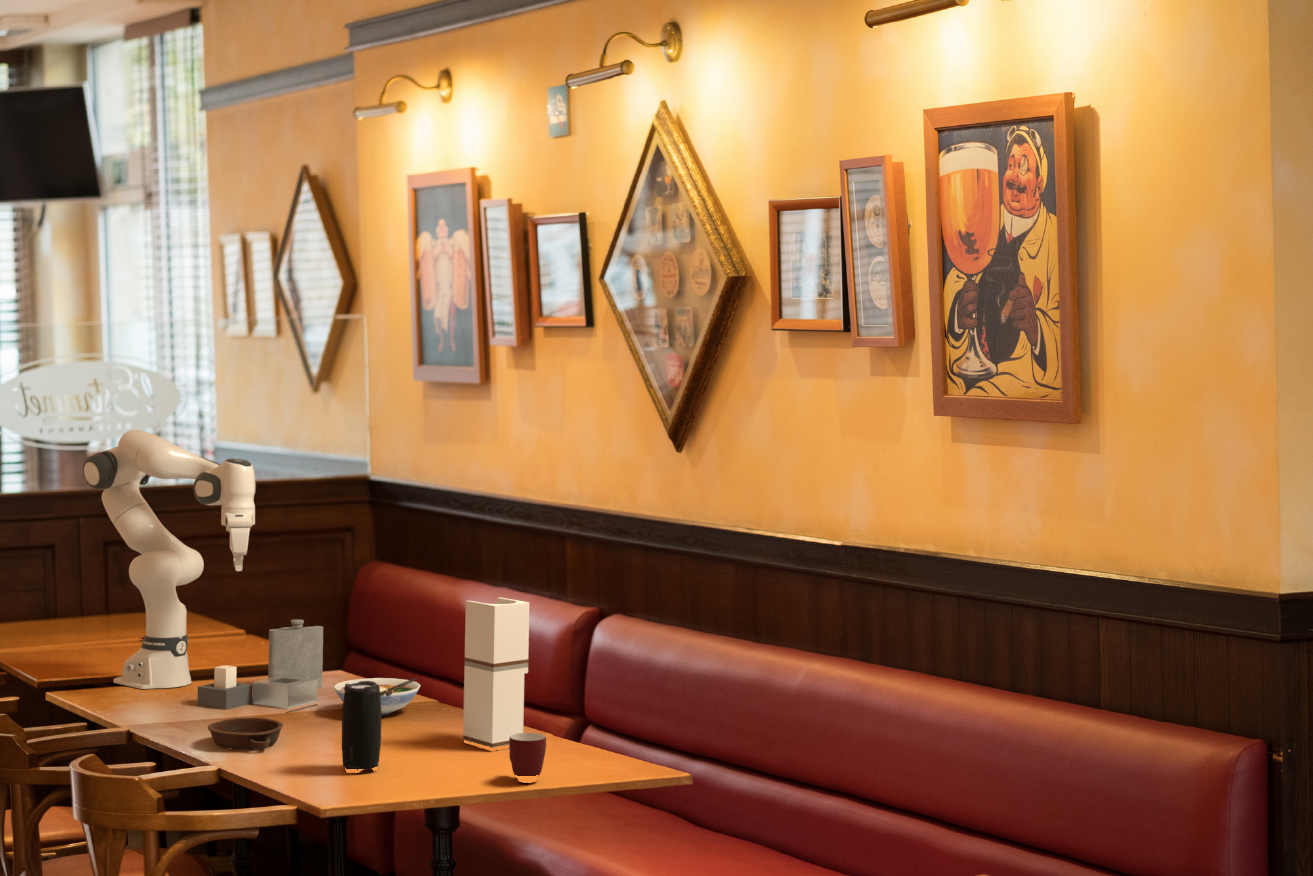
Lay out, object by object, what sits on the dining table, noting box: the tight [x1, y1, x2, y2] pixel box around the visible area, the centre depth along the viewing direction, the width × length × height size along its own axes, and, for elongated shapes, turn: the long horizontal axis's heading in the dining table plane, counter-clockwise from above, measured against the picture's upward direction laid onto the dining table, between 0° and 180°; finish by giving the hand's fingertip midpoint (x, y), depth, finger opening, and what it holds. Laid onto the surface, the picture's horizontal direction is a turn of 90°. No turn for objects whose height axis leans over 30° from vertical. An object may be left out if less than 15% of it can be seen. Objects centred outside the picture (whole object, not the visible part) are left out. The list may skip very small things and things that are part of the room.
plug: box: [213, 664, 238, 689], centre depth 398 cm, size 4×4×10 cm
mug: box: [508, 732, 547, 776], centre depth 329 cm, size 11×8×10 cm
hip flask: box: [267, 619, 324, 689], centre depth 425 cm, size 16×4×20 cm, turn 125°
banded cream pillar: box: [462, 597, 530, 748], centre depth 362 cm, size 11×11×35 cm
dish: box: [207, 717, 284, 750], centre depth 357 cm, size 18×22×5 cm
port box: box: [252, 675, 318, 714], centre depth 402 cm, size 12×12×7 cm
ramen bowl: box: [333, 677, 421, 717], centre depth 396 cm, size 25×23×8 cm
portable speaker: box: [341, 681, 382, 770], centre depth 335 cm, size 9×9×20 cm
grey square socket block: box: [196, 681, 253, 711], centre depth 398 cm, size 10×10×6 cm
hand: (237, 569), depth 406 cm, fingers open, 8 cm apart
